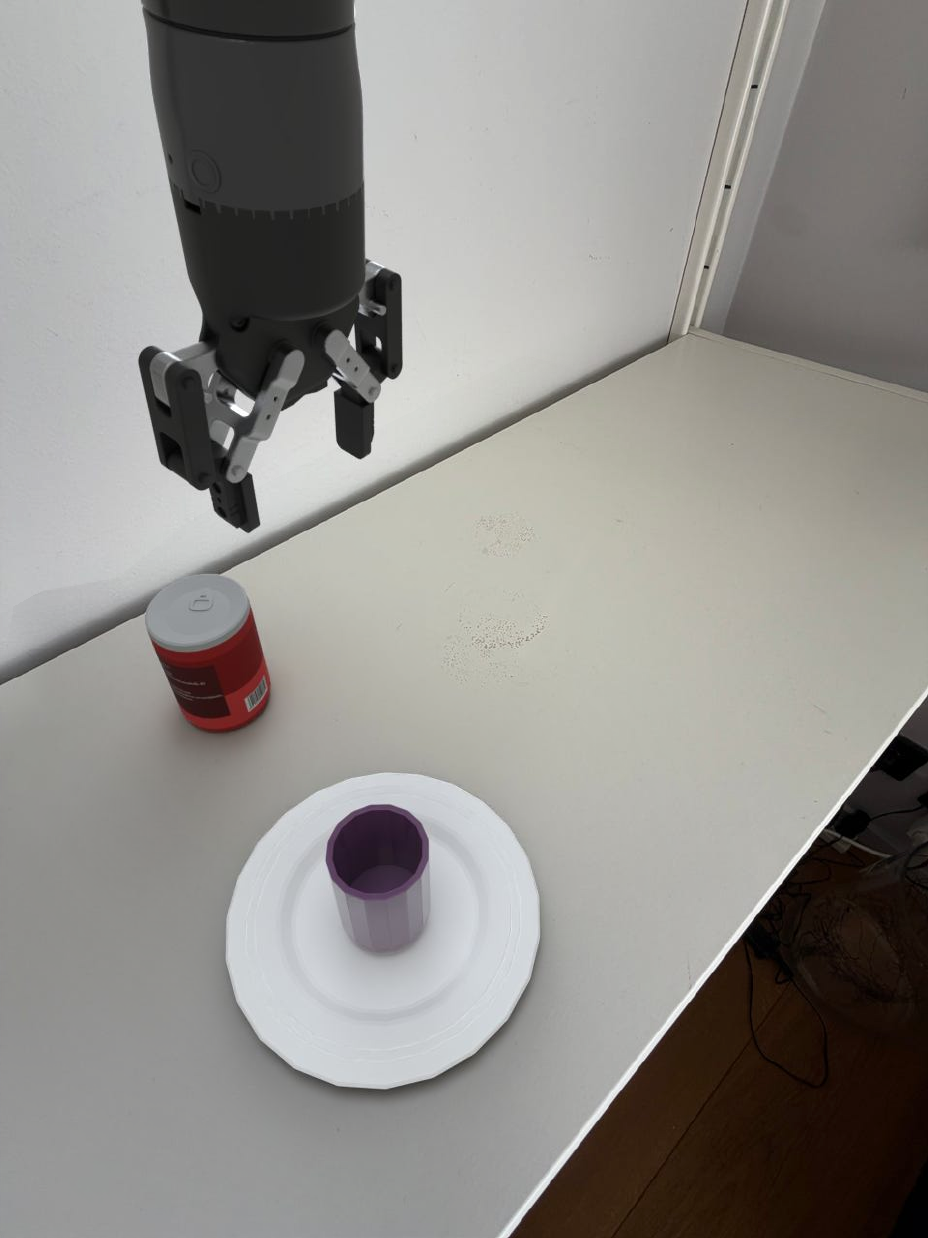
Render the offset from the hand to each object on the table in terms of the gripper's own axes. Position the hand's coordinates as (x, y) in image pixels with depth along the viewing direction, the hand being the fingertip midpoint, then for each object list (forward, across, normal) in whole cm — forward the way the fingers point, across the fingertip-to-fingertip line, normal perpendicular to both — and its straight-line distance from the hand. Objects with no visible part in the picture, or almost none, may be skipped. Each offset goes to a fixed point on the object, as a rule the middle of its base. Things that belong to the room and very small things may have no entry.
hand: (300, 485), depth 40 cm
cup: (+22, +9, +15) cm, 28 cm away
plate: (+24, +9, +15) cm, 30 cm away
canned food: (+27, +3, -8) cm, 28 cm away
